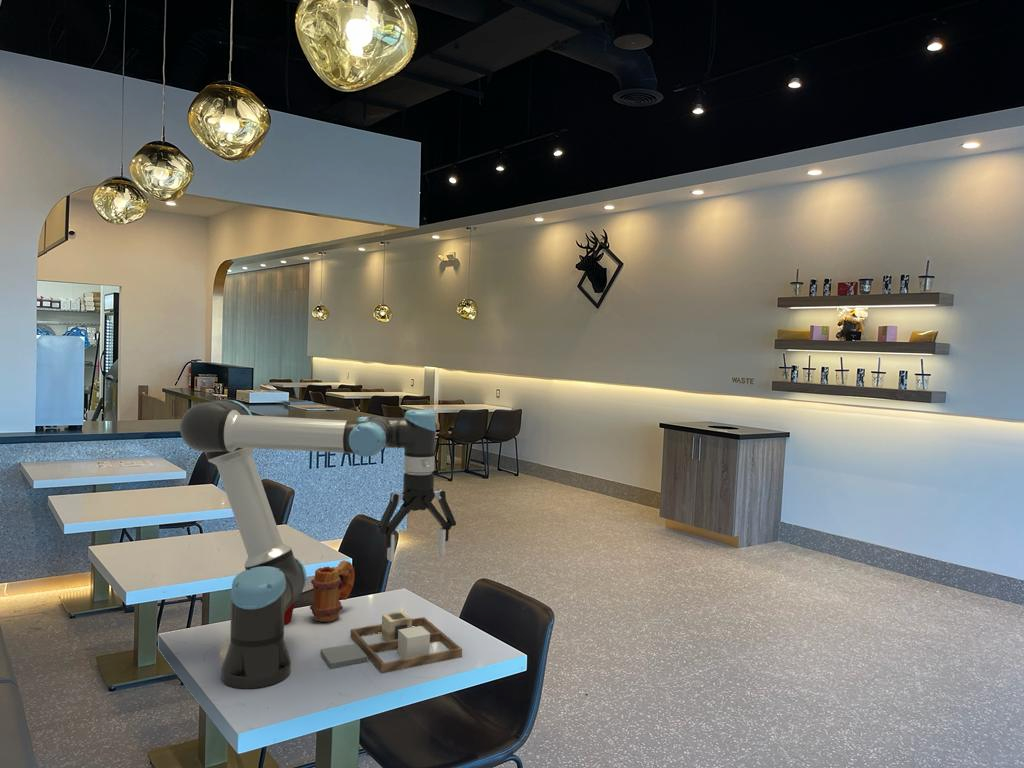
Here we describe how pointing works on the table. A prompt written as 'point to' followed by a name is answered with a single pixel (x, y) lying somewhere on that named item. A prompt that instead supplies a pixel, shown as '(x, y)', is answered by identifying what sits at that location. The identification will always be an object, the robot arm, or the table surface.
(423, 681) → the table surface
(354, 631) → the box
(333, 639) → the table surface
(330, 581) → the mug
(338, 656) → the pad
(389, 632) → the letter cube
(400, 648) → the blank block
